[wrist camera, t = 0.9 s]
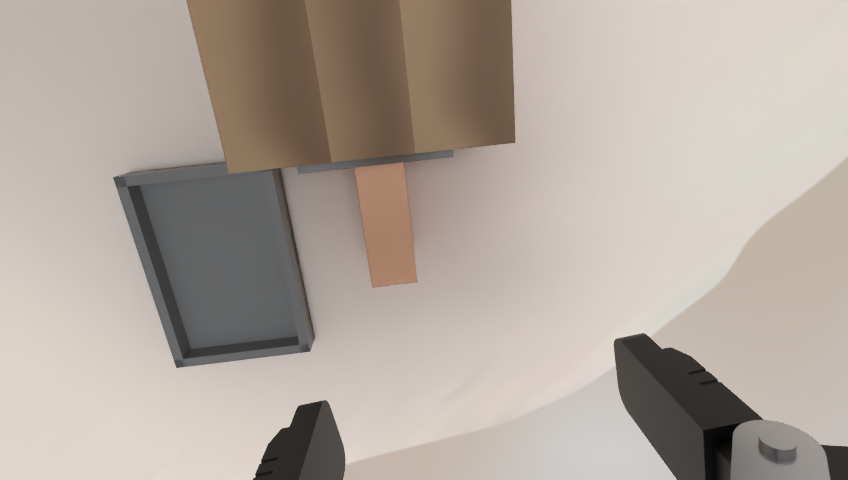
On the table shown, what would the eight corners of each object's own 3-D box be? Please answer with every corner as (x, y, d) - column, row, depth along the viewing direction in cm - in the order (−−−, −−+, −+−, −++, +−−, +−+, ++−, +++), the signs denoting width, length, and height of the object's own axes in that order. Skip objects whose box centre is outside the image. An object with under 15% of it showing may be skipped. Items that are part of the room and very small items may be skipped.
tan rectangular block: (376, 250, 30) (372, 287, 24) (354, 97, 26) (343, 97, 21) (412, 246, 30) (417, 282, 24) (395, 93, 26) (395, 92, 21)
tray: (188, 352, 31) (176, 367, 29) (131, 172, 27) (113, 177, 25) (314, 337, 31) (310, 351, 30) (277, 156, 27) (269, 160, 25)
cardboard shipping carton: (285, 155, 27) (231, 185, 18) (246, -38, 24) (157, -119, 15) (475, 135, 27) (515, 154, 18) (464, -58, 24) (506, -149, 15)
